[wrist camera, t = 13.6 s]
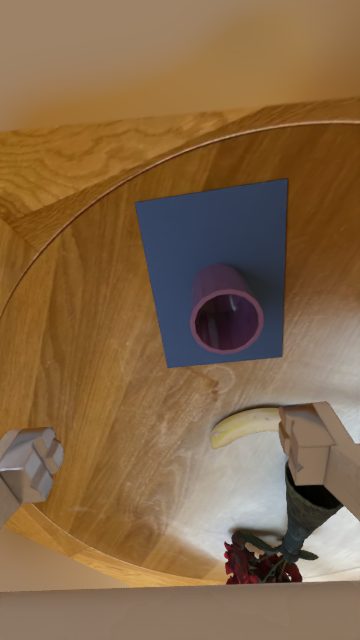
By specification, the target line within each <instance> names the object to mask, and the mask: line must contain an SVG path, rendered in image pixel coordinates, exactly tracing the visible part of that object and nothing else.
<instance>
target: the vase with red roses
mask: <svg viewBox="0 0 360 640" xmlns="http://www.w3.org/2000/svg"><path fill="white" fill-rule="evenodd" d="M288 464H289V460H288V461H287V462H286V465H285V481H286V486H287V487H286V500H287V515H288V529H287V532H286V534H285V538H284V539H283V540H282V544H281V545H279V546H278V547H274V548H272V547H271V546H270V545H268V544H266V543H265V542H264V541H262V540H261V539H259V538H258V537H256V536H254V535H252V534H249V533H244V532H241V531H237V532H236V533H234V534H233V535H232V538H231V539H232V543H233V544H231V545H230V544H227V543H226V542H224V545H225V547H226V549H227V551H225V554H224V557H225V558H227V559H228V562H226V563H225V568H226V574H227V575H228V574H230V573H233V574H234V575H233V577H232V576H230V579H228V581H227V583H226V585H236V584H267V583H298V582H302V576H301V574H300V572H299V569H298V567H297V566H296V564H295V563H293V562H297V561H298V559H299V558H302V559H305V560H315V559H318V558H319V557H318V556H317V555H315V554H313V553H311V552H308V551H305V550H301V548H302V546H303V542H304V540H305V539H306V538H308V536H310V535H311V534H312V532H313V531H314V530H315V529H316V528H318V527H319V526H321V525H323V523H324V522H326V520H327V519H329V518H330V517H331V516H332V515H334V514H336V512H337V511H338V510H340V509H341V508H342V507H343V506H344V505H343V504H342V503H341V502H340V501H339V500H338V499H337V498H336V497H335V496H334V495H333V494H332V493H331V492H330V491H329V490H328V489H327V488H326V487H325V486H324V485H295V482H294V479H293V476H292V474H291V471H290V468H289V465H288ZM246 542H249V543H251V544H253V545H254V546H256V547H257V548H259V549H260V550H262V551H264V552H265V553H264V554H263V555H261V554H260V555H259V559H257V558H256V557H255V556H254V553H255V552H250V551H249V550H248V549H247V548H246V547H245V543H246ZM278 552H280V553H282V555H281V556H279V557H278V556H277V554H276V553H278ZM259 561H260V562H259ZM272 564H273V565H272ZM285 572H286V573H287V574H289V575H288V576H291V581H290V579H289V577H288V576H287V574H286V573H285Z"/></svg>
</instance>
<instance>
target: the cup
mask: <svg viewBox="0 0 360 640" xmlns="http://www.w3.org/2000/svg"><path fill="white" fill-rule="evenodd" d="M190 325H191V333H192V335H193V336H194V338H195V340H196V341H197V343H198V344H199V345H201V346H202V347H204V348H205V349H207V350H208V351H210V352H214V353H219V354H230V353H237V352H239V351H241V350H243V349H246V348H248V347H249V346H250V345H251V344H252V343H253V342H254V341H255V340H256V339H257V338H258V337H259V334H260V332H261V330H262V328H263V311H262V309H261V307H260V305H259V303H258V301H257V300H256V298H255V296H254V295H253V293H252V291H251V289H250V288H249V286H248V284H247V283H246V281H245V279H244V278H243V276H242V274H241V273H240V272H239V271H238V270H237V269H235V268H234V267H232V266H230V265H227V264H223V263H216V264H211V265H208V266H206V267H204V268H203V269H201V270H200V271H199V272H198V273H197V274H196V275H195V277H194V278H193V280H192V283H191V288H190Z"/></svg>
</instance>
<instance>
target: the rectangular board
mask: <svg viewBox="0 0 360 640" xmlns="http://www.w3.org/2000/svg"><path fill="white" fill-rule="evenodd" d="M135 206H136V211H137V216H138V221H139V226H140V231H141V236H142V241H143V246H144V251H145V256H146V261H147V266H148V271H149V276H150V281H151V286H152V291H153V296H154V301H155V306H156V311H157V316H158V321H159V326H160V331H161V336H162V341H163V346H164V351H165V356H166V361H167V366H168V368H173V367H184V366H194V365H204V364H215V363H225V362H235V361H246V360H256V359H266V358H276V357H282V340H283V308H284V276H285V243H286V211H287V179H280V180H274V181H268V182H261V183H255V184H249V185H242V186H236V187H230V188H223V189H217V190H211V191H204V192H198V193H191V194H185V195H179V196H172V197H166V198H160V199H153V200H147V201H141V202H135ZM216 263H223V264H227V265H230V266H232V267H234V268H235V269H237V270H238V271H239V272H240V273H241V274H242V276H243V278H244V279H245V281H246V283H247V284H248V286H249V288H250V289H251V291H252V293H253V295H254V296H255V298H256V300H257V301H258V303H259V305H260V307H261V309H262V311H263V328H262V330H261V332H260V334H259V337H258V338H257V339H256V340H255V341H254V342H253V343H252V344H251V345H250V346H249V347H248V348H246V349H243V350H241V351H239V352H237V353H230V354H219V353H214V352H210V351H208V350H207V349H205V348H204V347H202V346H201V345H199V344H198V343H197V341H196V340H195V338H194V336H193V335H192V333H191V325H190V288H191V283H192V280H193V278H194V277H195V275H196V274H197V273H198V272H199V271H200V270H201V269H203V268H204V267H206V266H208V265H211V264H216Z"/></svg>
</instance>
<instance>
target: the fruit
mask: <svg viewBox="0 0 360 640" xmlns="http://www.w3.org/2000/svg"><path fill="white" fill-rule="evenodd" d="M280 421H281V419H280V416H279V408H257V409H251V410H247V411H243V412H240V413H237V414H234V415H232V416H230V417H228V418H226V419H224V420H222V421H221V422H219V423H218V424H217V425H216V426H215V427H214V428H213V429H212V431H211V436H210V442H211V447H212V449H218V448H221V447H224V446H226V445H228V444H230V443H231V442H233V441H235V440H236V439H238V438H240V437H243V436H245V435H249V434H253V433H257V432H265V431H276V432H279V431H278V423H279V422H280Z"/></svg>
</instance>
